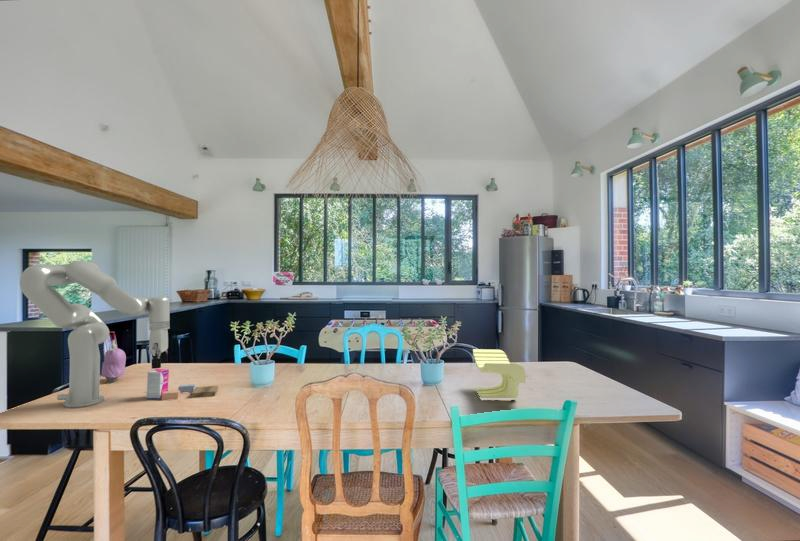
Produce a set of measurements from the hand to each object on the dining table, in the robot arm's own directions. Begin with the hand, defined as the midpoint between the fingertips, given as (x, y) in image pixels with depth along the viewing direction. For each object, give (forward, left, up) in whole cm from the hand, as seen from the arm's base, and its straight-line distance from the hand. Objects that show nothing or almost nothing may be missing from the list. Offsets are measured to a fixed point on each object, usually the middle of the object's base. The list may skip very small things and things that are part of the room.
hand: (159, 365), depth 161 cm
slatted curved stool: (+140, -40, -14) cm, 147 cm away
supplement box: (-1, 0, -14) cm, 14 cm away
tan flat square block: (+18, 0, -14) cm, 23 cm away
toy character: (-30, +35, -14) cm, 48 cm away
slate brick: (+9, +6, -14) cm, 17 cm away
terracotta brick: (+5, -3, -14) cm, 15 cm away
